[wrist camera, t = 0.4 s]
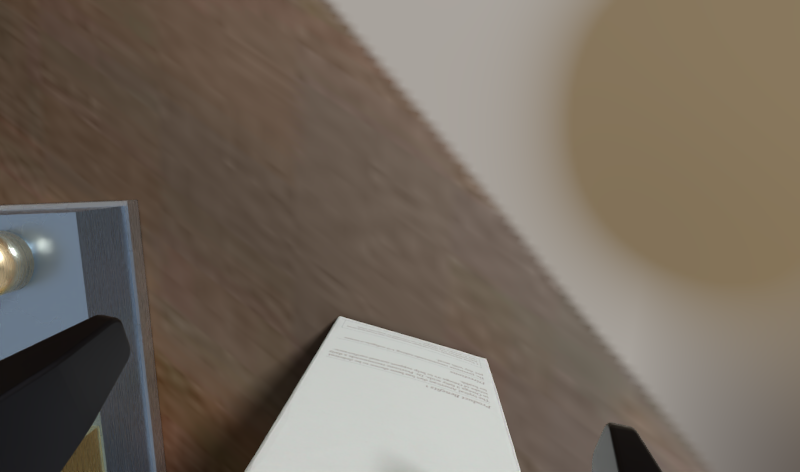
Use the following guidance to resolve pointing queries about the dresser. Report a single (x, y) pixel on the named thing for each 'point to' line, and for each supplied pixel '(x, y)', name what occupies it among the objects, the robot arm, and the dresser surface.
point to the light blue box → (86, 307)
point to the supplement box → (389, 410)
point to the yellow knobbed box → (87, 454)
